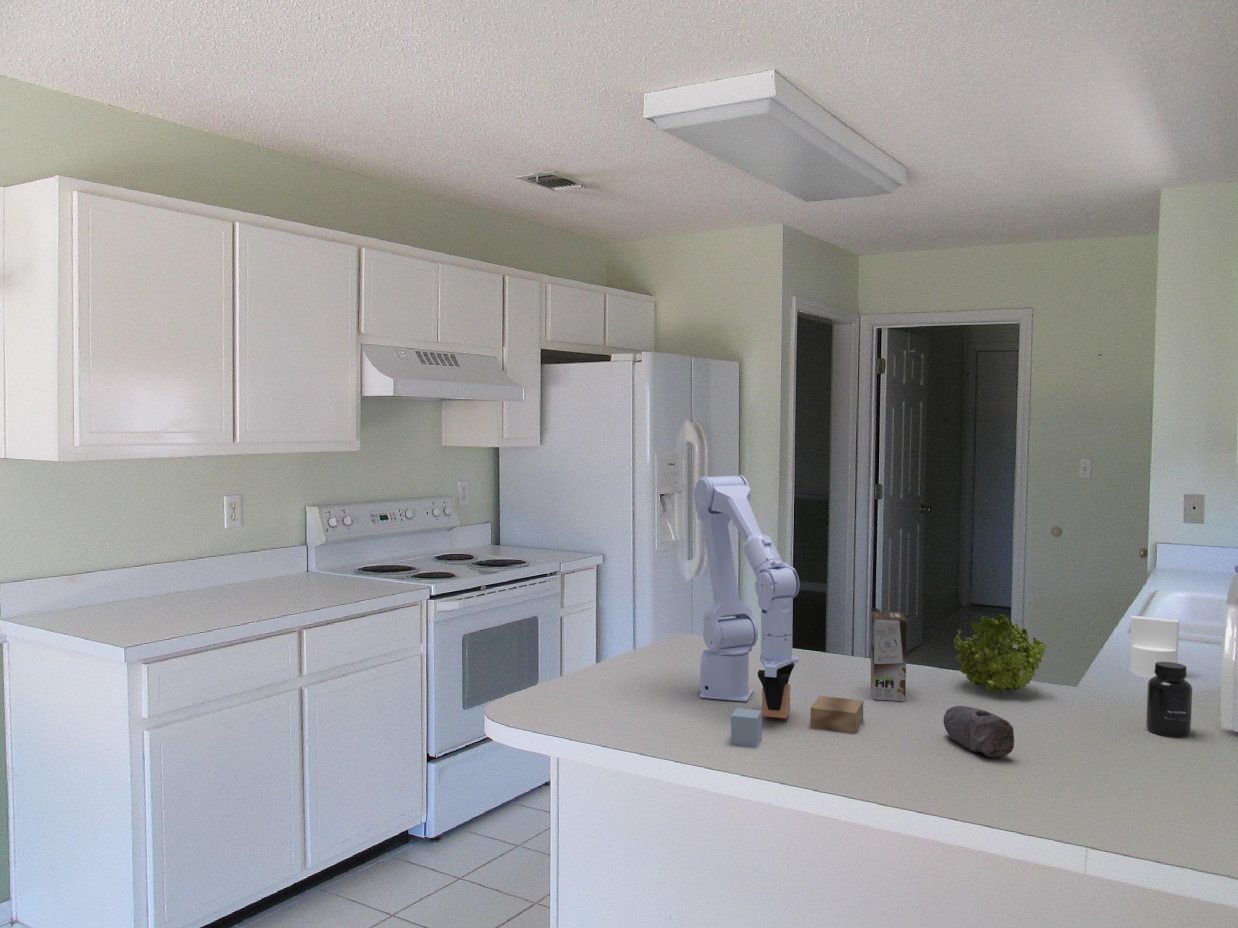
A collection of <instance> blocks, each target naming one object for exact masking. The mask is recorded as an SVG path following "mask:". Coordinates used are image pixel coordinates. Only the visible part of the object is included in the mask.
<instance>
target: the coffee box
mask: <svg viewBox="0 0 1238 928" xmlns="http://www.w3.org/2000/svg"><path fill="white" fill-rule="evenodd" d="M870 613H871V614H870V689H871V695H872V699H873V700H876V701H893V702H906V689H907V687H906V685H907V683H906V681H907V679H906V677H907V629H908V628H907V627H908V626H907V623H908V620H907V619H906V616H905V615H904V613H903V611H891V610H890V611H889V610H887V611H870Z"/></svg>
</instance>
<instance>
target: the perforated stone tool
mask: <svg viewBox="0 0 1238 928" xmlns="http://www.w3.org/2000/svg"><path fill="white" fill-rule="evenodd" d="M942 721H943V727H944V728H945V731H946V733H947V734H948V736H949V737H951V739H952V740H953V741H955V742H958V743H960V745H961V746H963V747H964V748H966V749H968V750H970V751H971V752H974V753H979V752H980V753H983V754H984V755H985V756H986V757H989V758H996V757H1001V758H1003V757H1006V756H1008V755H1009V754H1011V752H1012V751H1013V750H1014V747H1015V735H1014V734H1015V733H1014V727H1013V725H1011V723H1010V722H1009V721H1008V720H1007V719H1004V718H1003V717H1000V716H998V715H997V714H995V713H992V712H990V711H986V710H984V709H980V708H976V707H971V706H964V705H955V706H952V707H950V708H949V707H948V709H946V711H945V713H944V716H943V720H942Z"/></svg>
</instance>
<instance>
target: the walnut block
mask: <svg viewBox="0 0 1238 928" xmlns="http://www.w3.org/2000/svg"><path fill="white" fill-rule="evenodd" d="M863 722H864V700H861V699H852V698H843V697H834V696H825V695H819V696H818V697H817V699H816V700H815V701H814V703H813V704H812V706H810V722H809V723H810V725H809V726H810V729H813V730H823V731H831V732H839V733H847V734H854V735H856V734H857V732H858V731H859V729H860V727H861V726H862V724H863Z"/></svg>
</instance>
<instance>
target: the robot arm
mask: <svg viewBox="0 0 1238 928" xmlns="http://www.w3.org/2000/svg"><path fill="white" fill-rule="evenodd" d="M751 491H752V490H751V487H750V484H749V481H748V480H747V479H746V477H745V476H744V475H741V474H738V475H724V476H705V475H704V476H700V477H699V478H698V480H697V481H696V484H695V487H694V490H693V497H694V503H695V510H696V518H697V519H698V520H700V521H701V525H702V531H703V532H702V533H703V538H704V546H705V552H706V557H707V565H708V570H709V578H710V579H709V580H710V584H711V592H712V598H713V604H712V606H711V607H710V608H709V609H708V610H707V611H706V612H705V613H704V614H703V633H702V635H703V636H702V637H703V640H704V644H705V646H706V647H707V649H704V650H703V651H702V653H701V656H700V668H699V669H700V678H699V679H700V680H699V681H700V690H699V692H700V694H699V698H700V699H701V698H702V699H713V700H724V701H735V702H743V703H744V702H747V701H748V700H749V698H750V697H751V696H752V694H753V693H754V689H753V688H750V687H749V686H750V685H749V681H750V678H749V677H750V673H749V672H750V670H749V669H750V666H749V665H750V661H749V659H750V655H749V654H750V653H751V652H752V651H753V647H755V646H756V644H757V641H758V639H759V629H758V624H757V623H756V621H755V618H754V616H753V610H752V608H750V607H749V606H747V605H746V604H745V603H743V602H742V600H740V594H739V593H740V592H739V588H738V582H737V576H736V574H737V573H736V569H735V563H734V562H735V561H734V556H733V551H732V544H731V543H732V541H731V537H730V528H729V523H730V521H732V523H733V524H734V525H735V527H736V529H737V530H738V532H739V534H740V535H741V537H742V538H743V540H744V542H745V544H744V546H743V548H742V550H743V554H744V555H745V557H746V559H747V561H748V563H749V565H750V567H751V569H752V571H753V574H754V575H755V577H756V578H755V582H754V589H755V593H756V596H757V600H758V601H757V603H758V604H757V605H758V608H759V609H760V617H761V618H760V654H759V661H760V663H761V664H762V665H763V668H764V669H759V670H758V671H757V678H758V679H759V682H760V683H761V685H762V689H764V692H765V697H766V702H767V707H768V710H776V711H779V710H780V708H781V704H782V698H783V691H784V687H785V684H789V679H790V677H791V674H792V672H793V669H795V668H794V667H795V665H796V664H797V663H799V661H800V660H799V659H800V657H799V656H794V655H793V623H794V622H793V617H794V615H793V611H794V609H793V603H794V602H793V601H794V598H796V597H797V596H798V594H799V592H800V584H801V583H800V578H799V576H798V573H797V571H796V570H797V569H796V568H794V567H792V566H791V565H788V563H787V562H784V561H783V559H782V557H781V555H780V553H779V551H778V549H777V547H776V545H775V544H774V542H773V539H772V538H771V537H770V536H769V535H766V534H763V533H762V531H761V528H760V525H759V523H758V520H757V518H756V516H755V513H754V511H753V508H752V506H751V503H750V501H751V494H752V492H751ZM727 617H728V618H727Z"/></svg>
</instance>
